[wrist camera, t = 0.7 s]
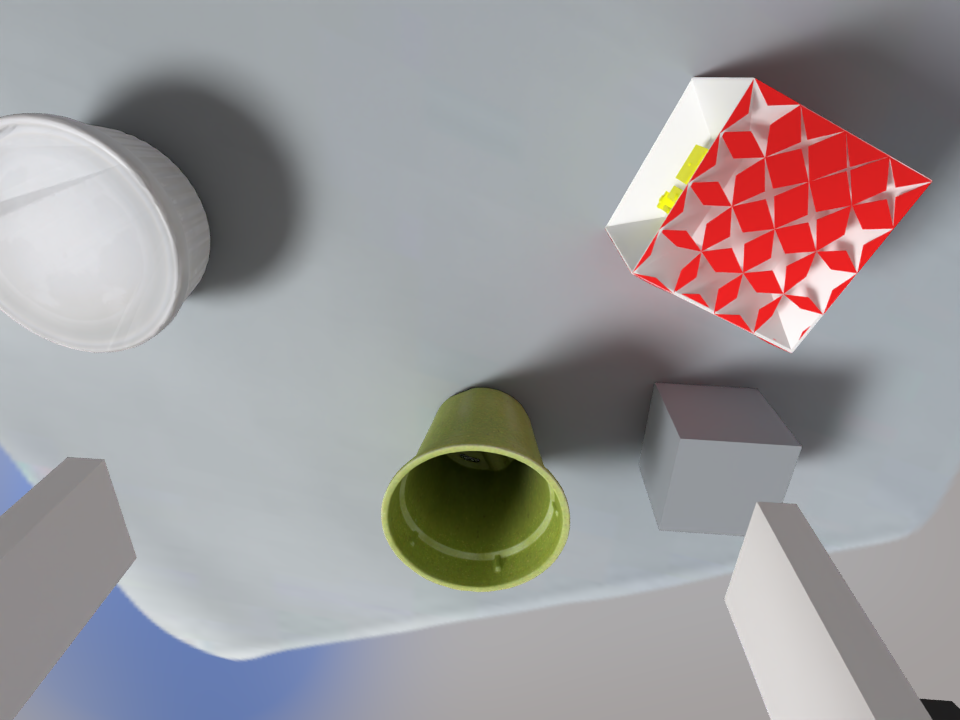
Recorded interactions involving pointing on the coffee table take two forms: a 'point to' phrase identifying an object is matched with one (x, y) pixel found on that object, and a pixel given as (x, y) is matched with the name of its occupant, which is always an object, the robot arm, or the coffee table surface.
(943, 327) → the coffee table surface
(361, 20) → the coffee table surface
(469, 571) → the plant pot
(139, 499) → the coffee table surface
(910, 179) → the puzzle cube
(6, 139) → the ramekin
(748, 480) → the slate grey block
